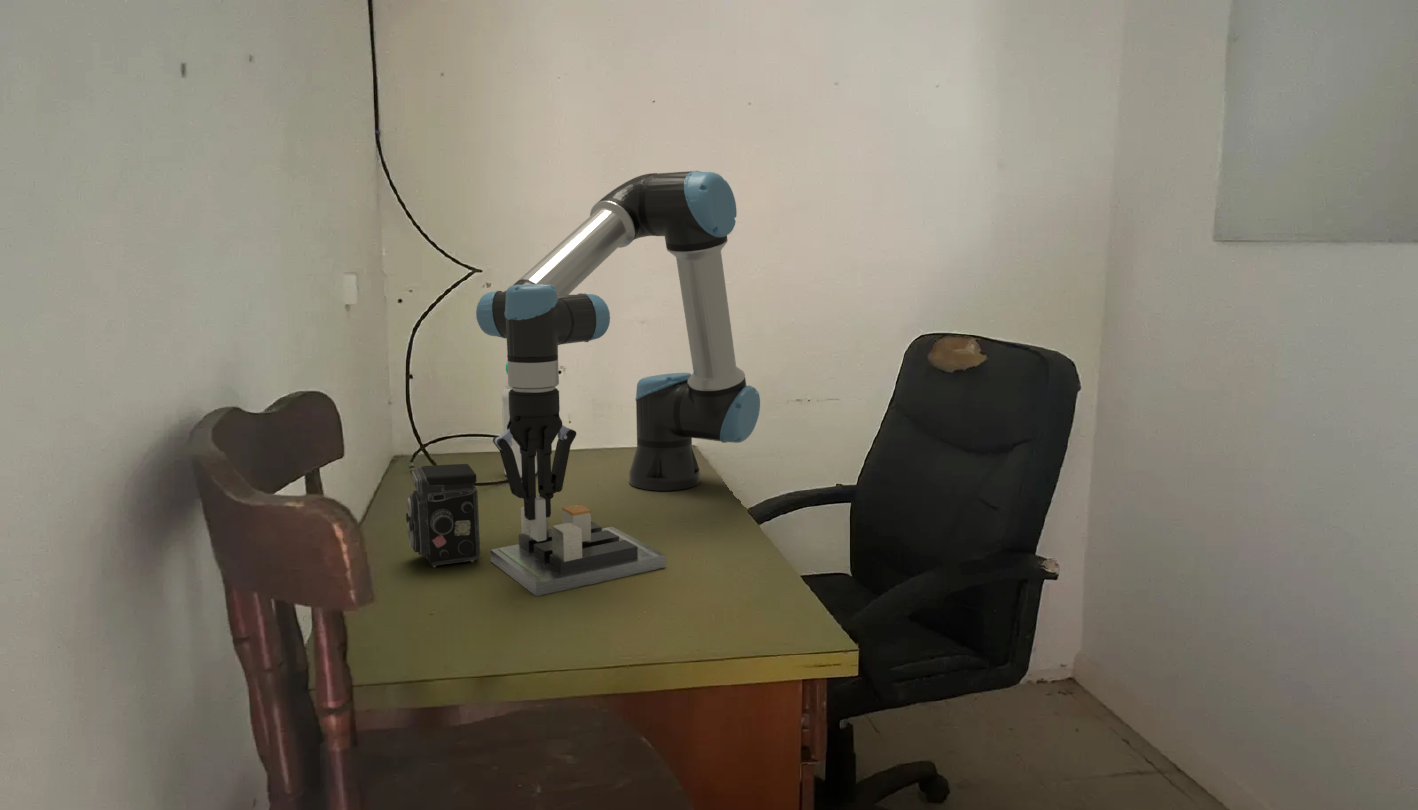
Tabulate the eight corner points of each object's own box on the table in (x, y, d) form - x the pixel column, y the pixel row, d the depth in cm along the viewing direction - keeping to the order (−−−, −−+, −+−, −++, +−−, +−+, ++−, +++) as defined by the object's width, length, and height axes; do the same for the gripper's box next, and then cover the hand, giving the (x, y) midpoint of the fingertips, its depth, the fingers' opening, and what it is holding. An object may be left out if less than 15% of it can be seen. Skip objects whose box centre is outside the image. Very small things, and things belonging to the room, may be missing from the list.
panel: (612, 537, 163) (611, 490, 162) (665, 567, 148) (665, 515, 147) (490, 561, 151) (488, 510, 150) (536, 596, 136) (534, 540, 135)
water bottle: (521, 469, 211) (517, 358, 207) (544, 473, 207) (540, 361, 203) (497, 475, 205) (493, 362, 201) (520, 480, 201) (516, 364, 197)
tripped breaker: (579, 533, 151) (579, 504, 151) (591, 540, 148) (590, 510, 147) (562, 536, 150) (562, 507, 149) (573, 543, 146) (573, 513, 146)
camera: (406, 554, 154) (401, 465, 152) (471, 546, 159) (467, 459, 156) (413, 574, 145) (408, 481, 142) (482, 565, 149) (478, 474, 147)
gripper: (562, 381, 148) (566, 525, 152) (483, 388, 141) (489, 539, 145) (584, 387, 142) (587, 537, 146) (501, 395, 134) (507, 552, 139)
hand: (538, 538), depth 145 cm, fingers closed
